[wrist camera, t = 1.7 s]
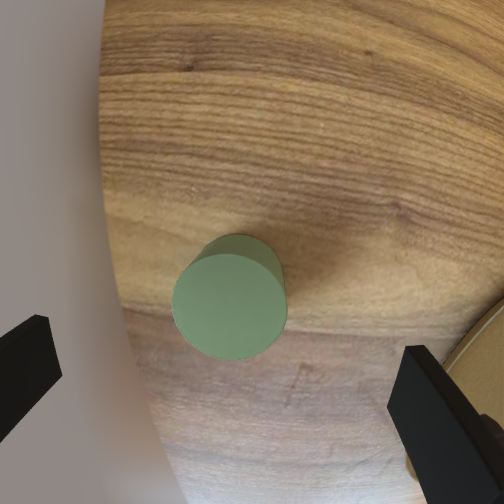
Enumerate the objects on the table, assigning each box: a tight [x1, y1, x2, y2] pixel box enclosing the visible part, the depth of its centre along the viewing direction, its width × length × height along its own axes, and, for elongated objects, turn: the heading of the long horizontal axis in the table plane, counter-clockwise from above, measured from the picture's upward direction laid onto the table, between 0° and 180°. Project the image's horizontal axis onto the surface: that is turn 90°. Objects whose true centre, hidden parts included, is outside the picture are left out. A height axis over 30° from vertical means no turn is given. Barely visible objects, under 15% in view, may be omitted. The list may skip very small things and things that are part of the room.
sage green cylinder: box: [172, 234, 287, 360], centre depth 17 cm, size 6×6×5 cm
